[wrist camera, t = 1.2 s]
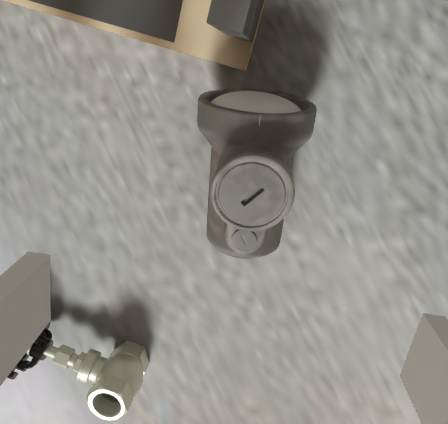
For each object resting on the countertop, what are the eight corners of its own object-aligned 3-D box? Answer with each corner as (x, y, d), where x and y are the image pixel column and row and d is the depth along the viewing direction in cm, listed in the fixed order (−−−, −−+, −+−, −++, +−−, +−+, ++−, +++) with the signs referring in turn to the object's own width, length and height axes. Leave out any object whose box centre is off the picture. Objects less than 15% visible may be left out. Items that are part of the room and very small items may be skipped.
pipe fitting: (205, 78, 32) (186, 106, 22) (310, 89, 31) (334, 122, 22) (195, 217, 37) (177, 286, 28) (285, 226, 37) (296, 299, 28)
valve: (160, 337, 41) (47, 294, 41) (138, 385, 35) (5, 334, 35) (142, 386, 43) (35, 345, 43) (119, 439, 37) (-6, 391, 37)
